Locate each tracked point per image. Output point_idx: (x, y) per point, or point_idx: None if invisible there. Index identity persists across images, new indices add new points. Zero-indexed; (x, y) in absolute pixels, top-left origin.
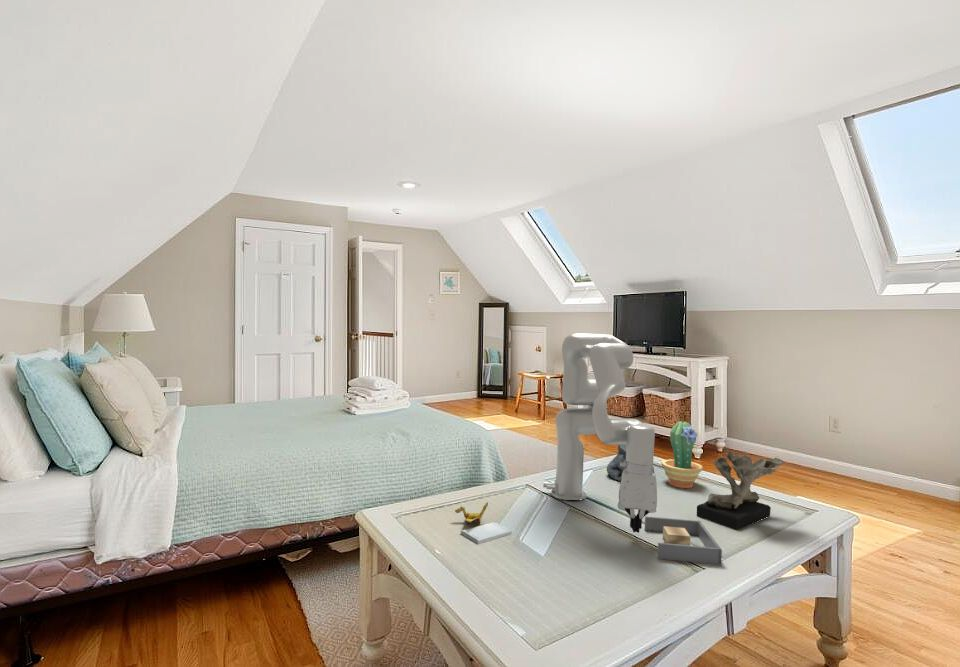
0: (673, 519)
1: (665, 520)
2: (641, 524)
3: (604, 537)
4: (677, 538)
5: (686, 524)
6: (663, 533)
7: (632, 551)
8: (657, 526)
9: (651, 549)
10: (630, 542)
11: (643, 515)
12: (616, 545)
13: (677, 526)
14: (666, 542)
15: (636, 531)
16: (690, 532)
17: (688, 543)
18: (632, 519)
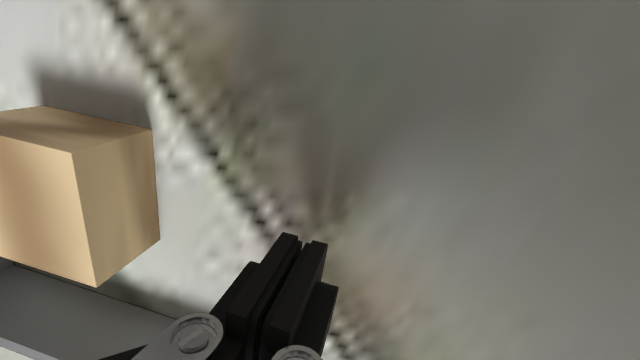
0: (37, 352)
1: (84, 357)
2: (235, 282)
3: (518, 291)
4: (38, 133)
5: (3, 312)
6: (130, 249)
7: (404, 61)
8: (153, 338)
9: (251, 103)
10: (358, 209)
11: (153, 346)
12: (490, 167)
13: (56, 314)
14: (138, 164)
15: (300, 247)
16: (29, 278)
17: (9, 113)
18: (307, 343)
